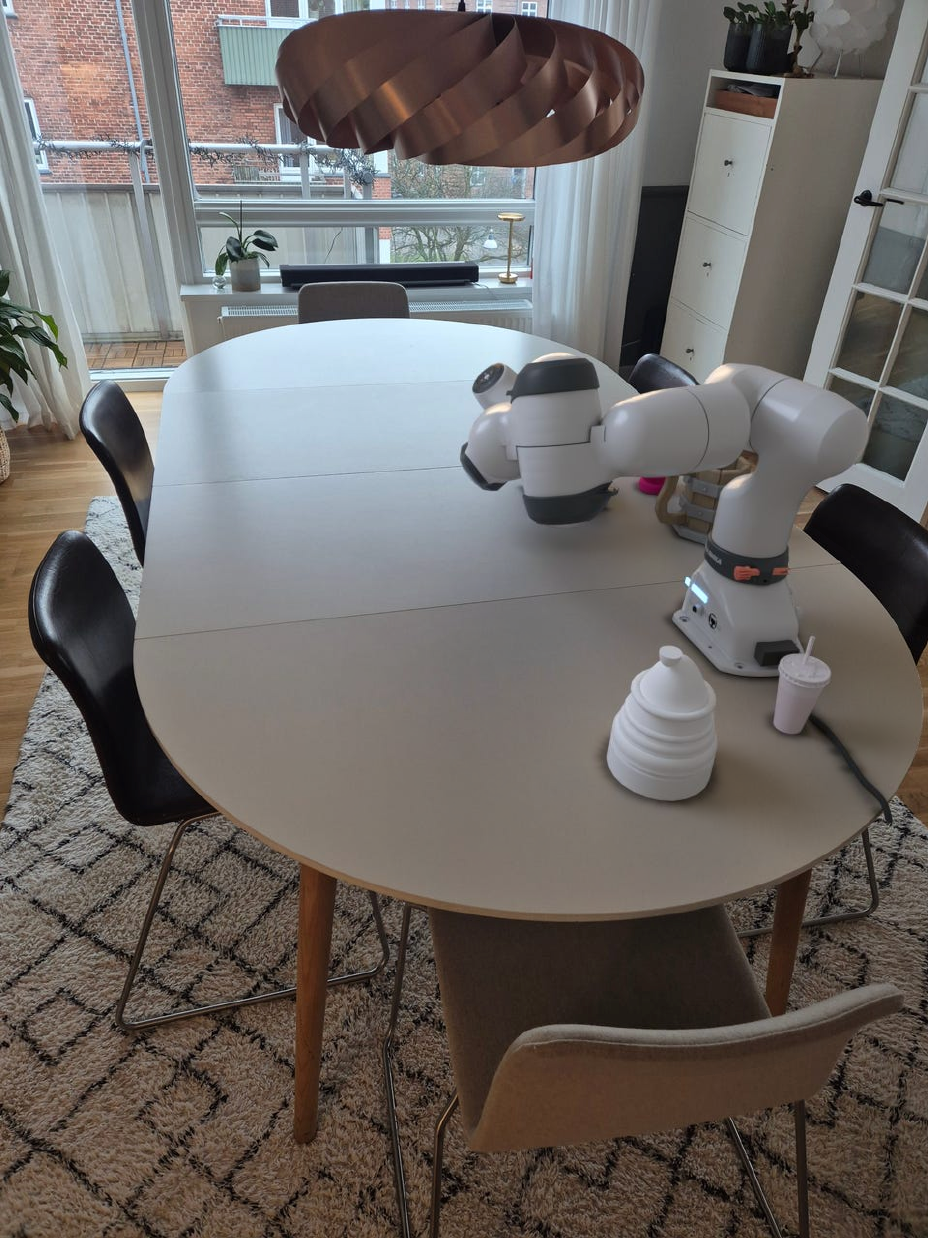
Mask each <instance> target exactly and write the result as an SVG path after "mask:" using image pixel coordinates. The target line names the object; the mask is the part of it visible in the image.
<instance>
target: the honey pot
mask: <svg viewBox="0 0 928 1238" xmlns="http://www.w3.org/2000/svg"><path fill="white" fill-rule="evenodd" d="M658 651H659V653H658V655H659V656H658V657H659V661H657V662H656V663H655V664H654V665H653V666H651V667H650V668H648V669H645V670H643V671H641V672H640V673H638V674H636V675H635V677H634V678H633V679H632V681H631V685H630V692H629V694H628V695H627V696H626V698H625V700H624V703H623V704H622V706H621V707H620V709H619V711H618V712H616V714H615V716H614V718H613V721H612V725H611V730H610V735H609V742H608V748H607V753H606V761H607V766H608V768H609V770H610V772H611V774H612V777H614V778H615V779H616V780H617V781H618V783H620V784H621V785H622V786H624V787H625V788H627V789H628V790H630V791H631V792H632V793H635V794H638V795H641V796H643V797H645V798H648V799H654V800H658V801H671V802H672V801H673V802H674V801H681V800H686V799H689V798H691V797H694V796H696V795H698V794H699V793H700V792H702V791H703V790H704V789H705V788H706V787H707V785H708V783H709V781H710V779H711V775H712V771H713V767H714V763H715V758H716V753H717V751H718V736H717V735H718V734H717V732H716V724H715V715H714V712H713V711H714V709H715V708H716V706H717V695H716V693H715V689H714V688H713V687H712V686H711V684H710V683H709V682H708V681H706V680H705V679H704V677H703V675H702V672H701V670H700V668H699V667H698V665H697V664H696V663H695V661H694V660H693V659H692V658H691V657H689V656H688V655H686V654H684V653H683V651H682V650H681V649H680V648H679V647H677V646H673V645H663V646H662V647H660V649H659V650H658Z"/></svg>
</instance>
